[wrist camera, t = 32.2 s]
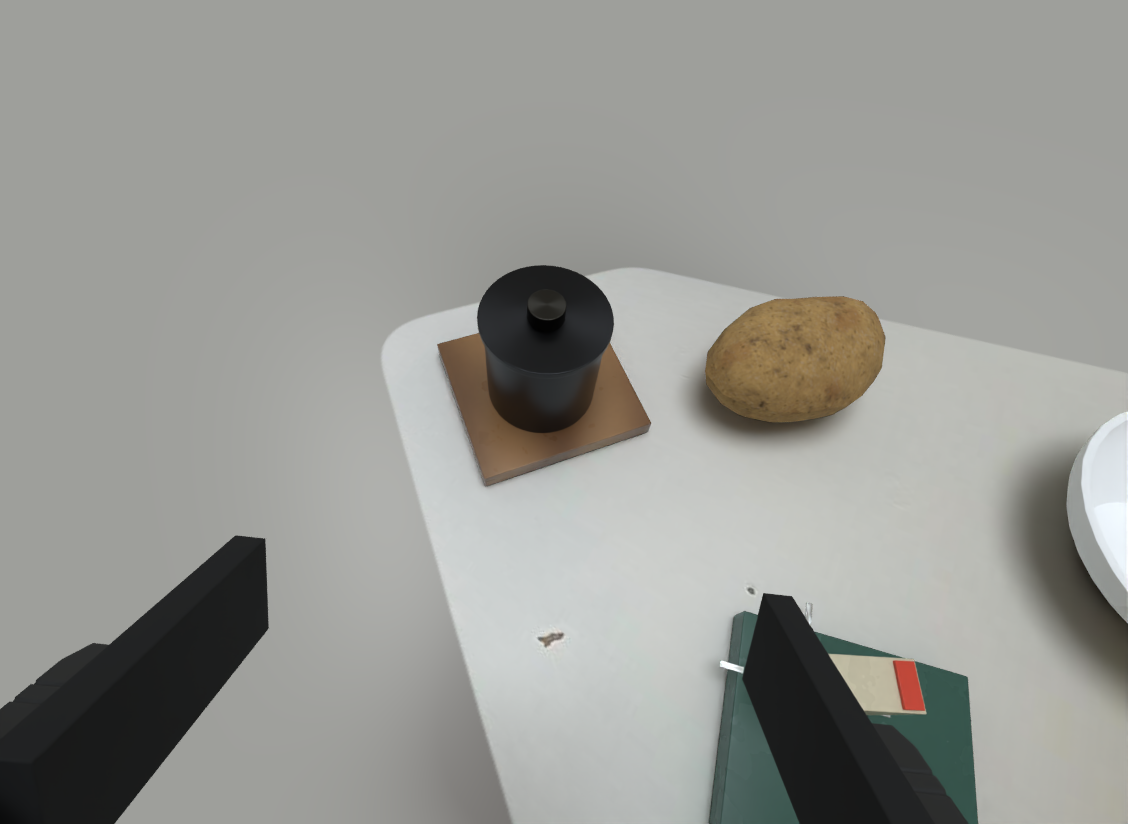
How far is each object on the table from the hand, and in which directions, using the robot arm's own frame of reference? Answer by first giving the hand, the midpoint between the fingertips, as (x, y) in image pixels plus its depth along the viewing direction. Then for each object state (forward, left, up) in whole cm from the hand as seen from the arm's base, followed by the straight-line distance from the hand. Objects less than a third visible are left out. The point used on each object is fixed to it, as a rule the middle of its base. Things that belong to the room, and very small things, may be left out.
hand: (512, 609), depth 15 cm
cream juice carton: (+17, +4, -21) cm, 27 cm away
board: (-4, +20, -23) cm, 30 cm away
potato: (+13, +26, -23) cm, 37 cm away
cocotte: (-4, +19, -21) cm, 29 cm away
